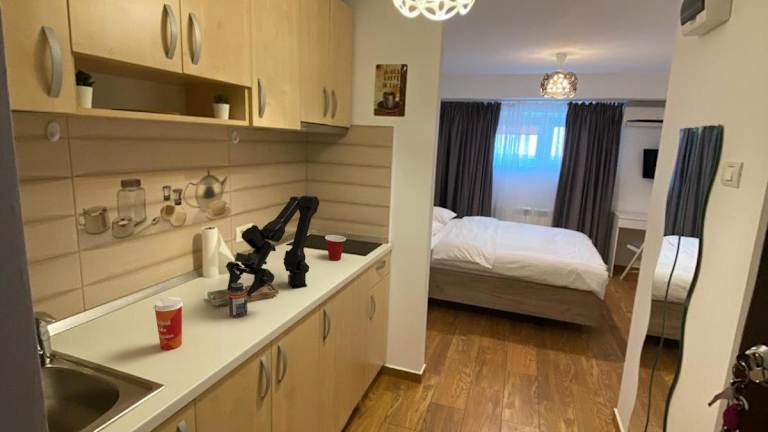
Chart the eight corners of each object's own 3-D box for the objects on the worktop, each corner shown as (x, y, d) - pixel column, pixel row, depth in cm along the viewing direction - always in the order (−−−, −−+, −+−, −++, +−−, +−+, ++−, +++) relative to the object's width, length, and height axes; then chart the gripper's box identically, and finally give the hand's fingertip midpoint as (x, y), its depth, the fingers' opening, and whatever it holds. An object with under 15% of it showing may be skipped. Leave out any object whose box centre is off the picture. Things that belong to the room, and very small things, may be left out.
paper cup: (151, 346, 119) (147, 302, 117) (176, 336, 126) (173, 294, 123) (165, 355, 115) (162, 309, 112) (191, 344, 121) (188, 300, 119)
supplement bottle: (229, 312, 144) (228, 281, 142) (247, 310, 146) (246, 280, 144) (229, 319, 139) (228, 287, 137) (247, 316, 141) (246, 286, 139)
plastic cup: (341, 263, 204) (341, 240, 201) (321, 261, 206) (321, 238, 204) (348, 257, 214) (349, 235, 212) (329, 255, 217) (329, 233, 214)
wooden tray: (270, 287, 169) (270, 281, 169) (279, 297, 159) (279, 291, 159) (207, 297, 156) (206, 291, 156) (212, 308, 146) (211, 302, 146)
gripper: (228, 239, 147) (204, 277, 139) (268, 247, 139) (245, 287, 131) (245, 255, 155) (223, 291, 147) (283, 263, 147) (263, 302, 140)
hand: (237, 292), depth 141 cm, fingers open, 9 cm apart
